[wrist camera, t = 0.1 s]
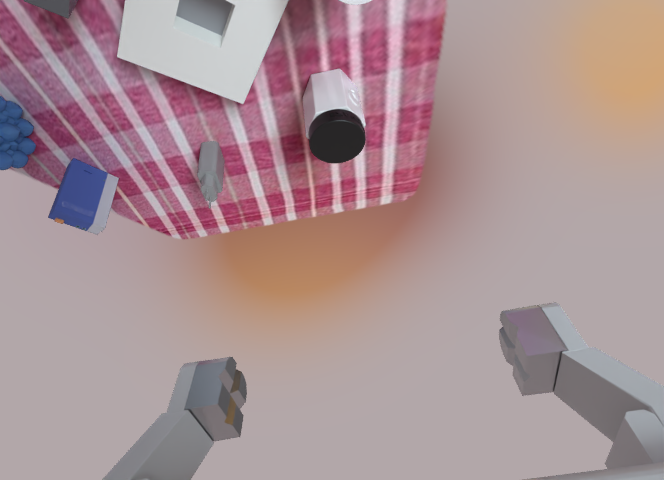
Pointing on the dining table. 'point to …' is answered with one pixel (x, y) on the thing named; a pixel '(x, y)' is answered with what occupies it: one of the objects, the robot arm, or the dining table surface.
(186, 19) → the outlet block
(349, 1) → the paper cup
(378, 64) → the dining table surface
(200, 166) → the power adapter
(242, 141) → the dining table surface
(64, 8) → the gray rectangular block
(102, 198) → the walkman
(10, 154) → the grapes
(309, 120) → the jar
